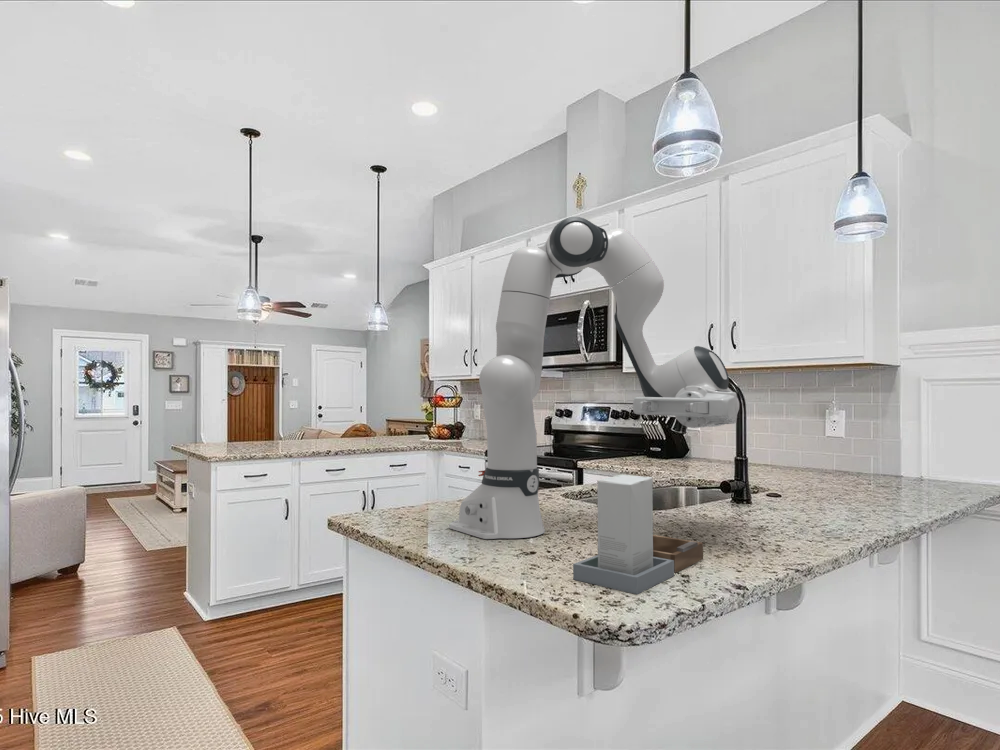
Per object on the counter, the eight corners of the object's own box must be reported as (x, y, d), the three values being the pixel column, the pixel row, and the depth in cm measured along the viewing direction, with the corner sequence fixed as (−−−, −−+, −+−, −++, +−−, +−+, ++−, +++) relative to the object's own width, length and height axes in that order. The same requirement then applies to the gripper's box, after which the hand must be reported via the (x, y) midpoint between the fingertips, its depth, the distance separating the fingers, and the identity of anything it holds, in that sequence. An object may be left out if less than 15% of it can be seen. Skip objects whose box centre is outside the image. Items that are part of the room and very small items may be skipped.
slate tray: (573, 579, 98) (573, 563, 98) (613, 563, 107) (613, 549, 108) (637, 594, 90) (636, 577, 90) (674, 575, 100) (674, 560, 100)
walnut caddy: (618, 561, 108) (618, 541, 108) (649, 549, 117) (649, 531, 117) (676, 573, 101) (675, 551, 101) (704, 559, 110) (703, 539, 110)
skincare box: (621, 564, 104) (620, 473, 105) (656, 571, 100) (655, 476, 100) (596, 574, 98) (594, 478, 98) (632, 582, 93) (631, 482, 94)
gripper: (650, 391, 133) (618, 389, 123) (744, 392, 119) (717, 391, 109) (650, 419, 133) (618, 420, 123) (744, 424, 119) (716, 425, 109)
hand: (665, 406), depth 116 cm, fingers open, 8 cm apart
